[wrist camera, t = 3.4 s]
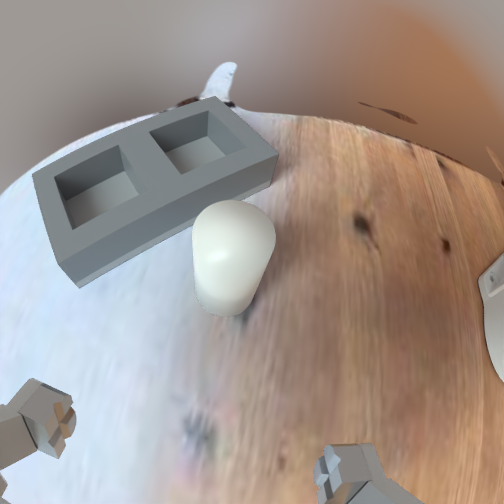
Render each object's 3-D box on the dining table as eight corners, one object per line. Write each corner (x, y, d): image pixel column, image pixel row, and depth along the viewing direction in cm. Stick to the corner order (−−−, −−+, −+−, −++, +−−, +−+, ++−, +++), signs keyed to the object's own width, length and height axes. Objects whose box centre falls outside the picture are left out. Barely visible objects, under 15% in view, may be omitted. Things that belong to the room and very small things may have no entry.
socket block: (212, 127, 33) (215, 95, 29) (269, 186, 30) (279, 153, 26) (48, 203, 25) (31, 174, 21) (79, 288, 22) (57, 264, 18)
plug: (230, 259, 25) (243, 188, 18) (262, 301, 24) (292, 245, 16) (184, 286, 24) (176, 222, 16) (216, 332, 22) (223, 288, 14)
